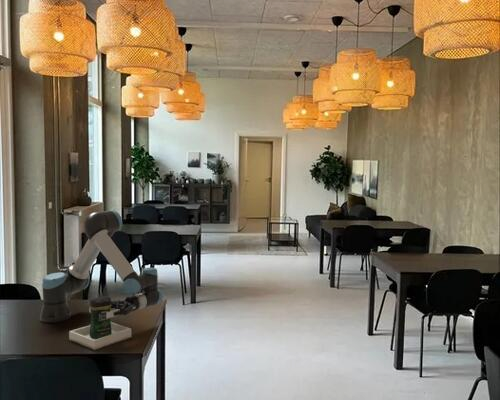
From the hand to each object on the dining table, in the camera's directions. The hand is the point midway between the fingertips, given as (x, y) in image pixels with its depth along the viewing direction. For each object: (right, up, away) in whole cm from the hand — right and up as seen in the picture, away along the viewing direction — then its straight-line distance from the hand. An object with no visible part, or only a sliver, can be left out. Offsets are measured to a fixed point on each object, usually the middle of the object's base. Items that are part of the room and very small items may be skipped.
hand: (98, 312), depth 217 cm
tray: (+1, -13, +2) cm, 13 cm away
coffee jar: (+1, -12, +2) cm, 12 cm away
